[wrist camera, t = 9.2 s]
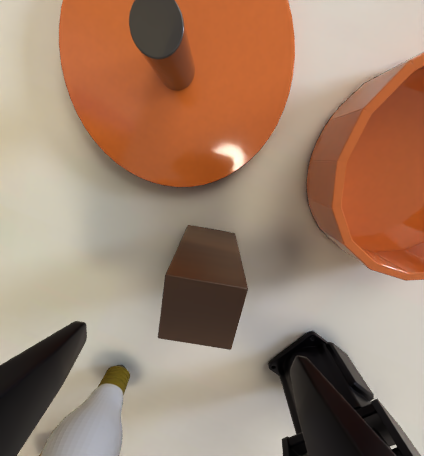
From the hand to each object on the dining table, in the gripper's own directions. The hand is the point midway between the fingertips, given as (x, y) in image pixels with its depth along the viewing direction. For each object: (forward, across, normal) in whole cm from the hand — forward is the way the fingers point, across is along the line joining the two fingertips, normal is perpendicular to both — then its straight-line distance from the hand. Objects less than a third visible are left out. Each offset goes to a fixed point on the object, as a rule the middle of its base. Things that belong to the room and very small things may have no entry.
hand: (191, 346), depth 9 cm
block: (+10, 0, 0) cm, 10 cm away
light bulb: (+10, +7, +17) cm, 21 cm away
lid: (+10, +4, -12) cm, 16 cm away
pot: (+10, -14, -9) cm, 19 cm away
